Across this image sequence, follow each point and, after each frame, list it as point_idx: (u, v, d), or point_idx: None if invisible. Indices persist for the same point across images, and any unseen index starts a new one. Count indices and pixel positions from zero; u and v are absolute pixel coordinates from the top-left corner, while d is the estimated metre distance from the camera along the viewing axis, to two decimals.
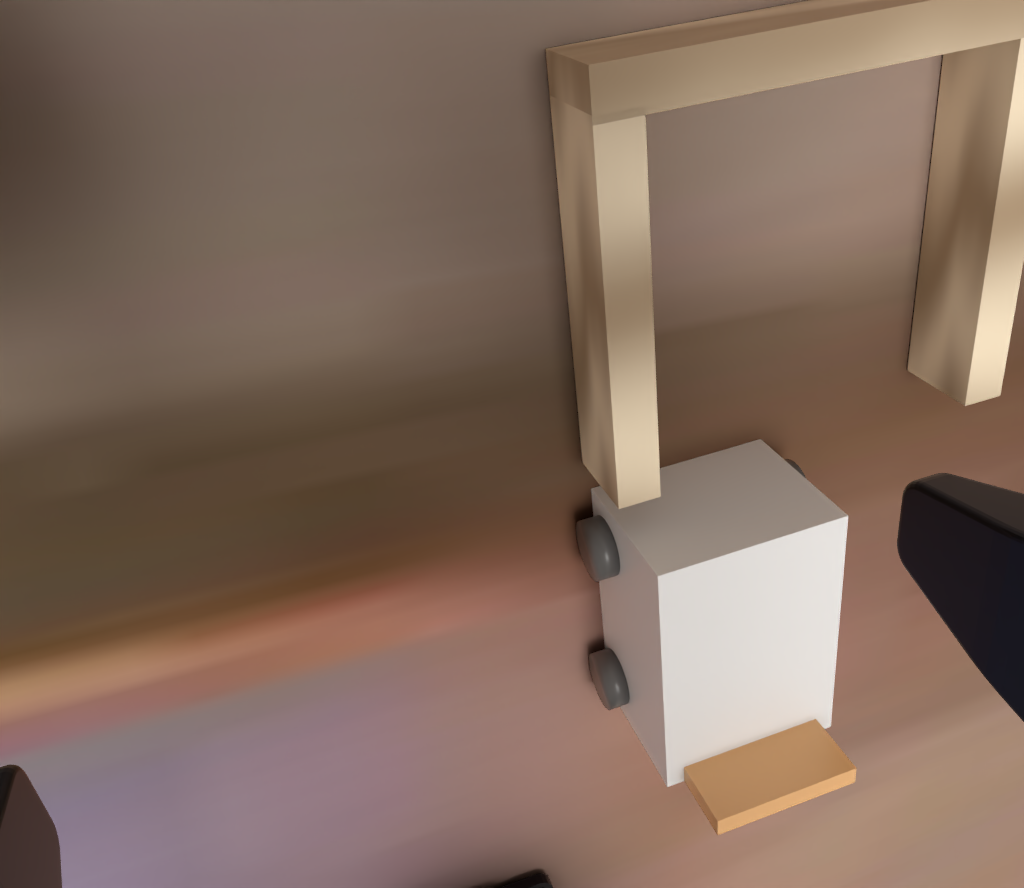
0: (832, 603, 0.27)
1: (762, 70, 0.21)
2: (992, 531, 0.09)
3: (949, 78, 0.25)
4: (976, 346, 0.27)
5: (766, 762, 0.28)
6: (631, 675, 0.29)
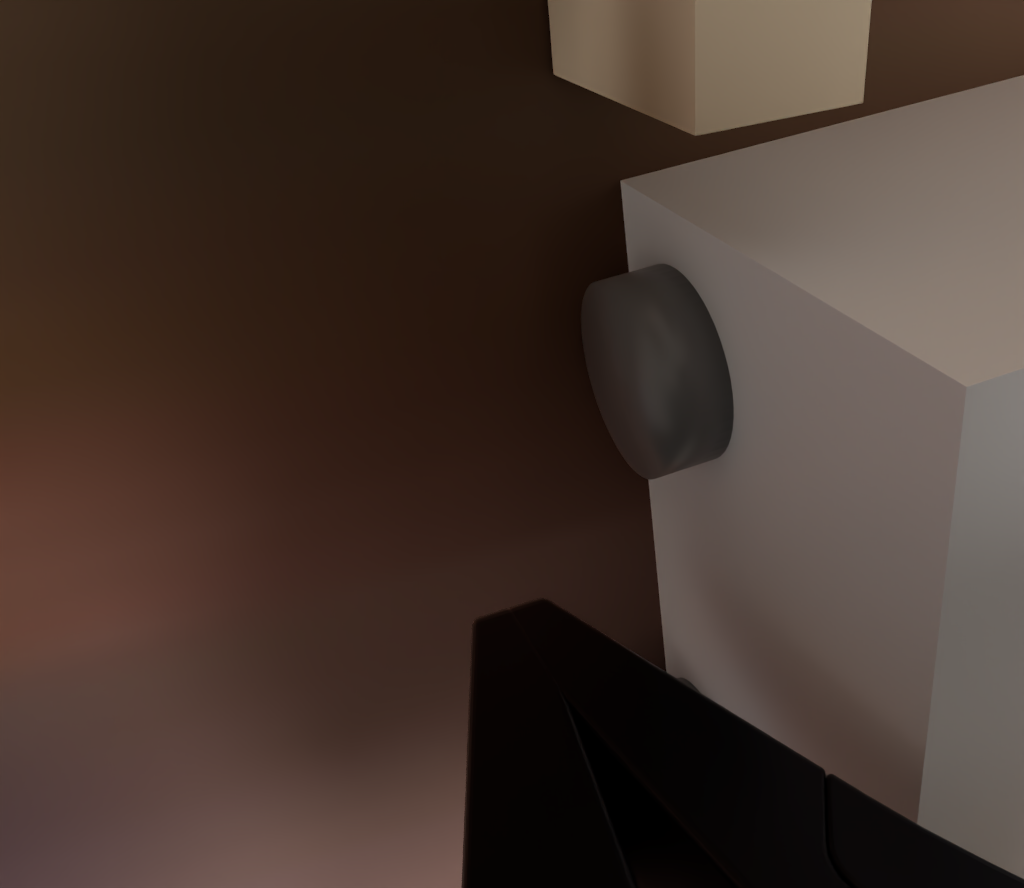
0: None
1: None
2: (545, 680, 0.08)
3: None
4: None
5: None
6: None
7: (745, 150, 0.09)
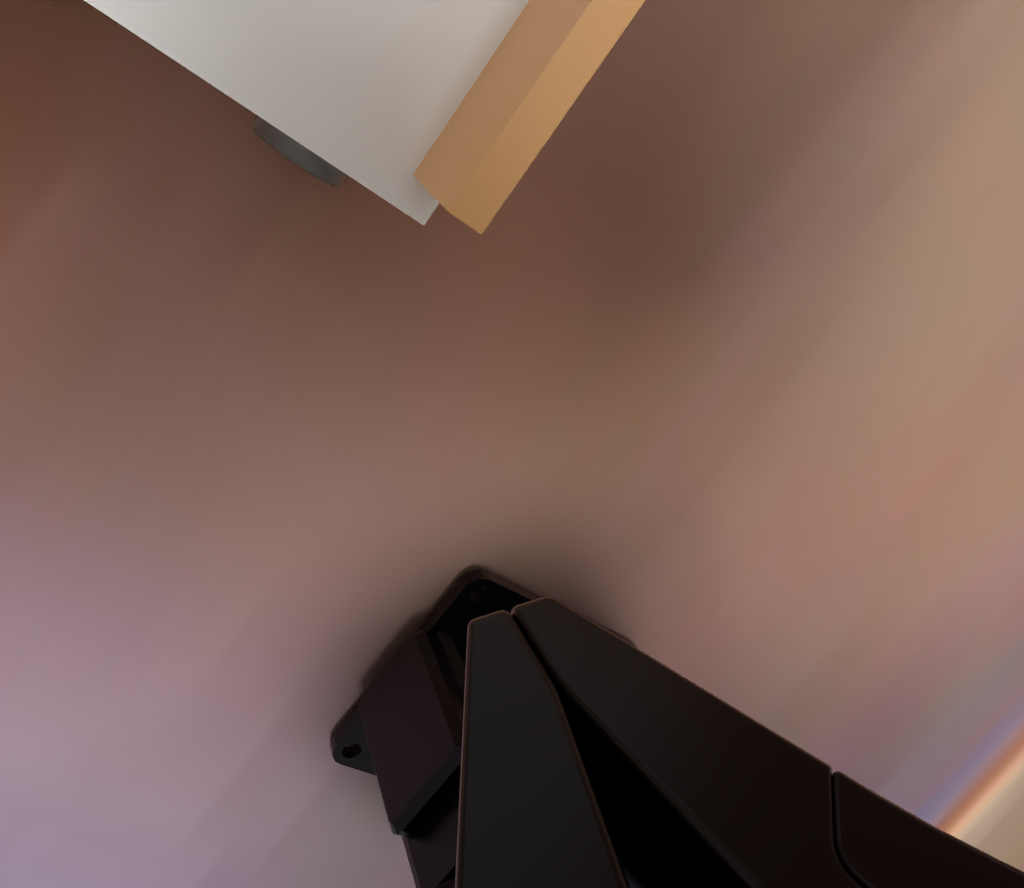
0: None
1: None
2: (551, 678, 0.08)
3: None
4: None
5: (516, 54, 0.13)
6: None
7: None
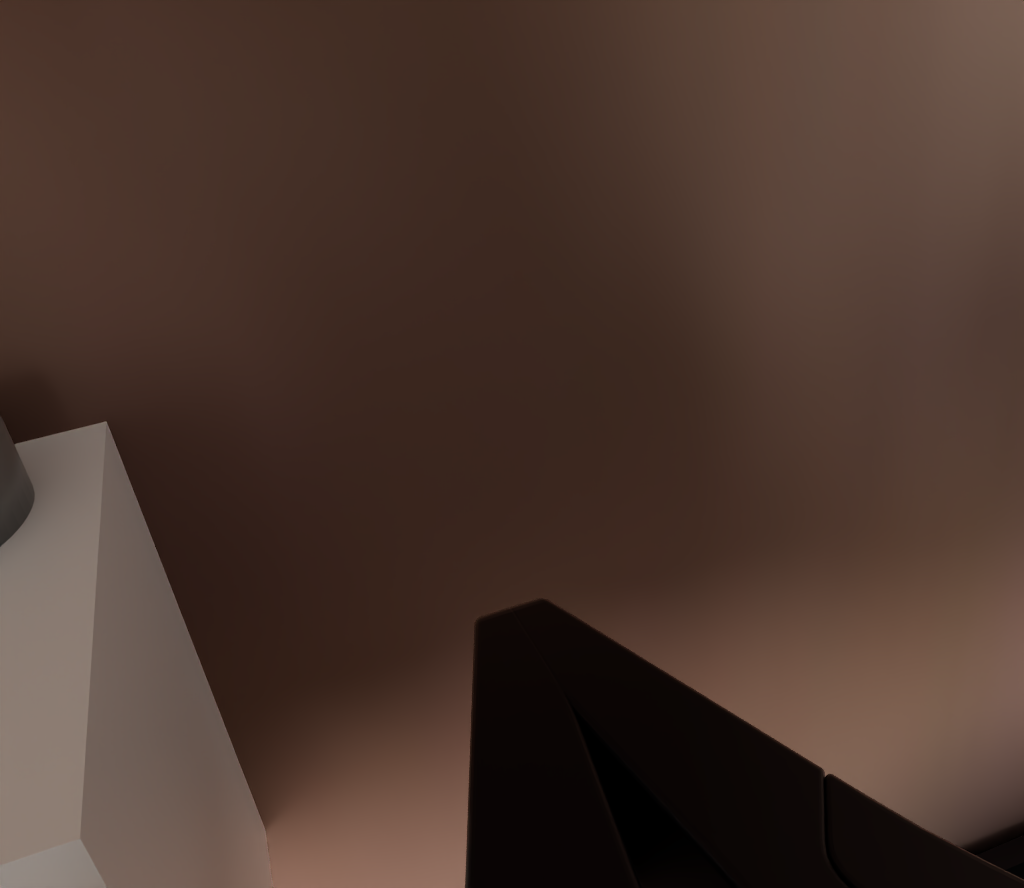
0: None
1: None
2: (544, 680, 0.08)
3: None
4: None
5: None
6: None
7: None
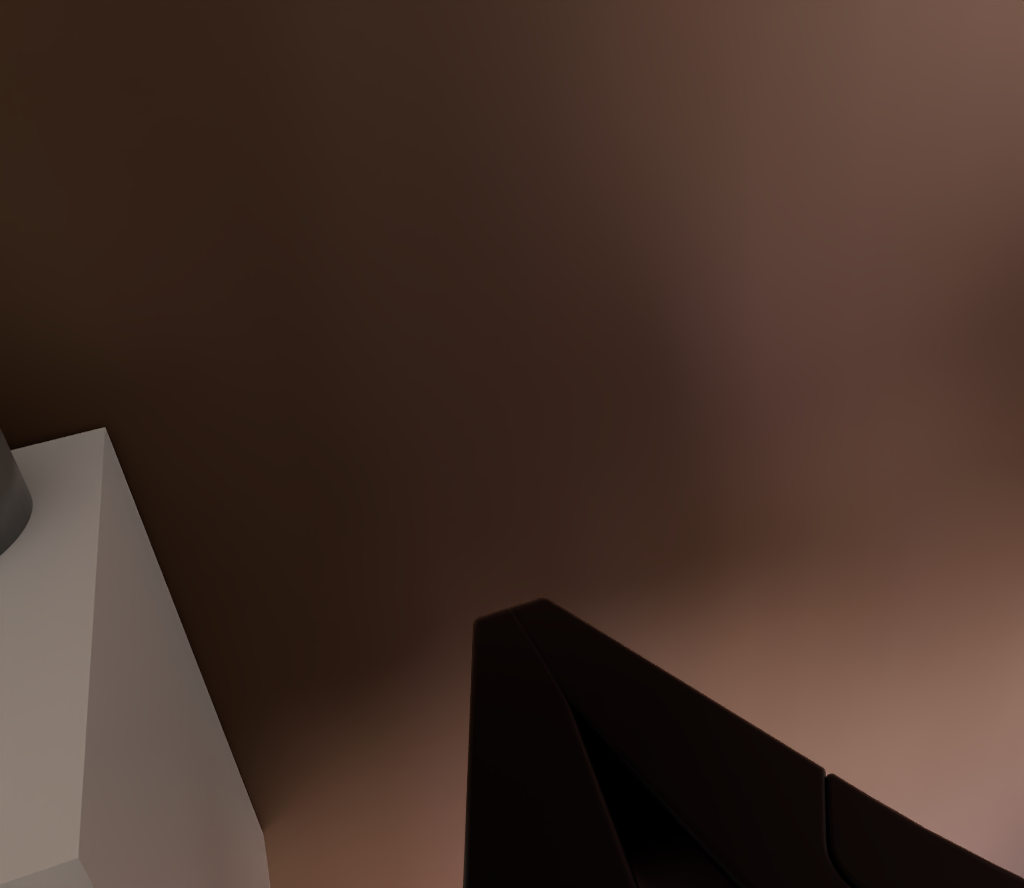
0: None
1: None
2: (546, 680, 0.08)
3: None
4: None
5: None
6: None
7: None
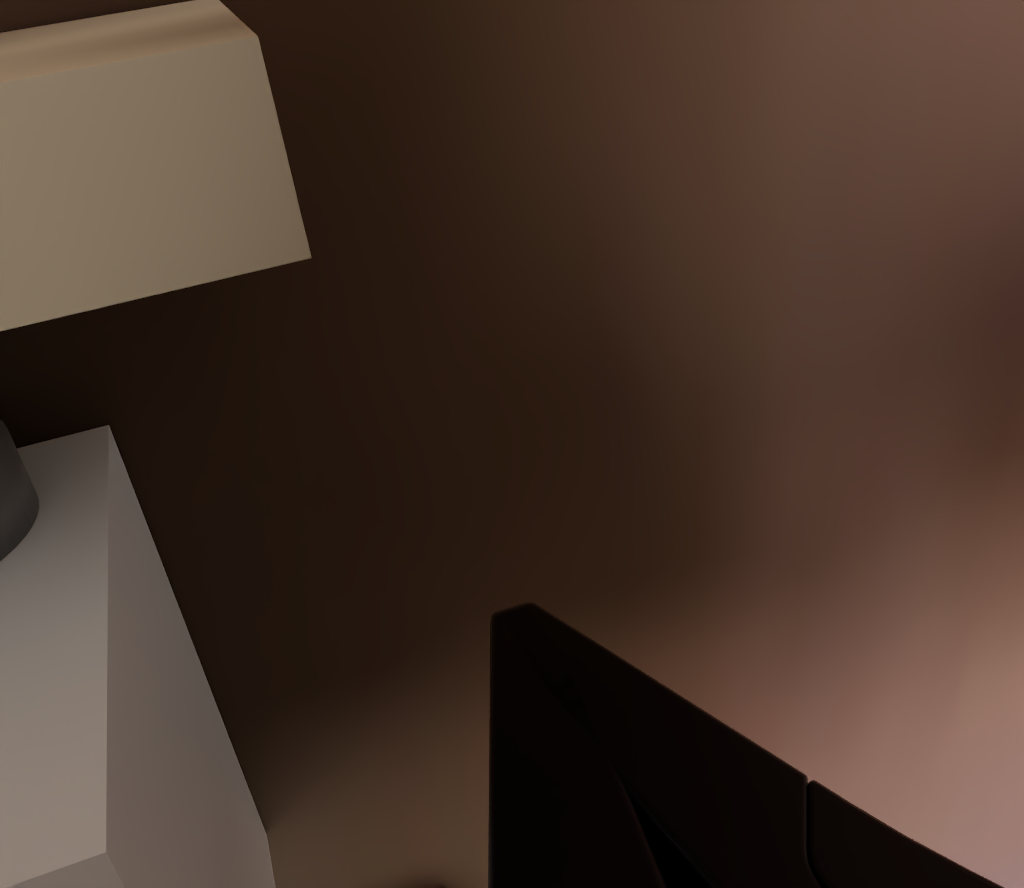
0: None
1: None
2: (530, 685, 0.08)
3: None
4: None
5: None
6: None
7: None
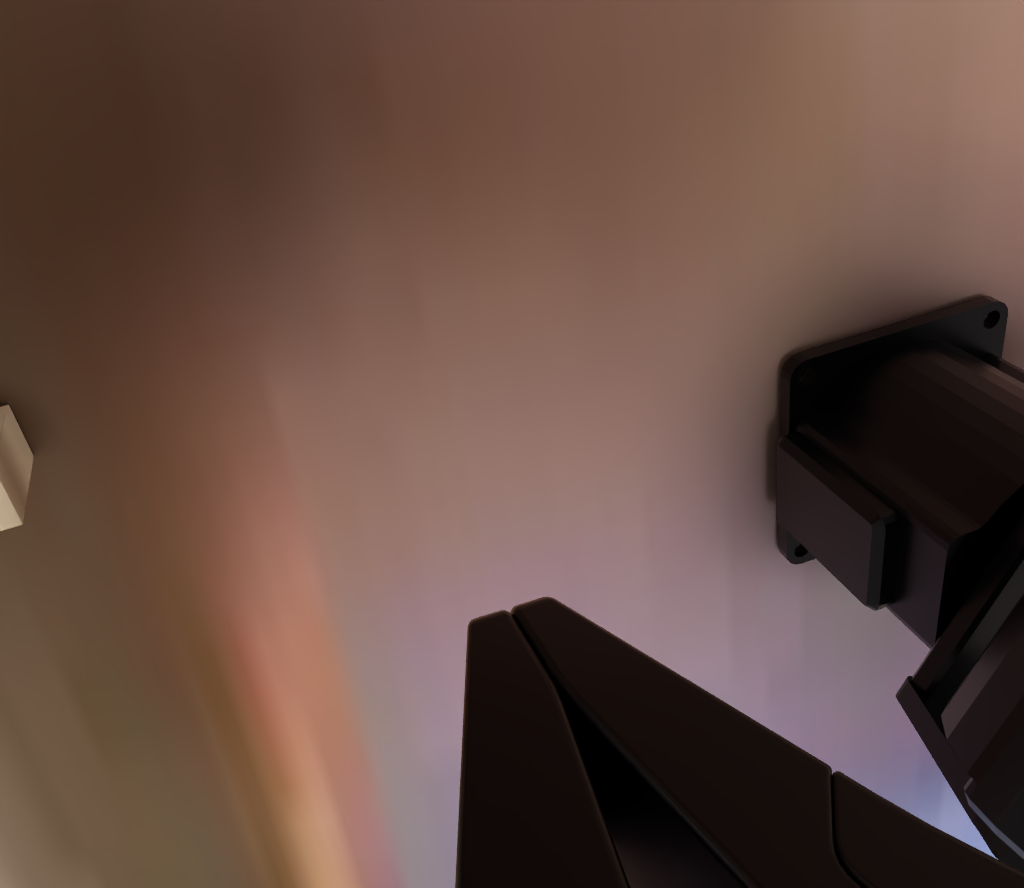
0: None
1: None
2: (550, 678, 0.08)
3: None
4: None
5: None
6: None
7: None
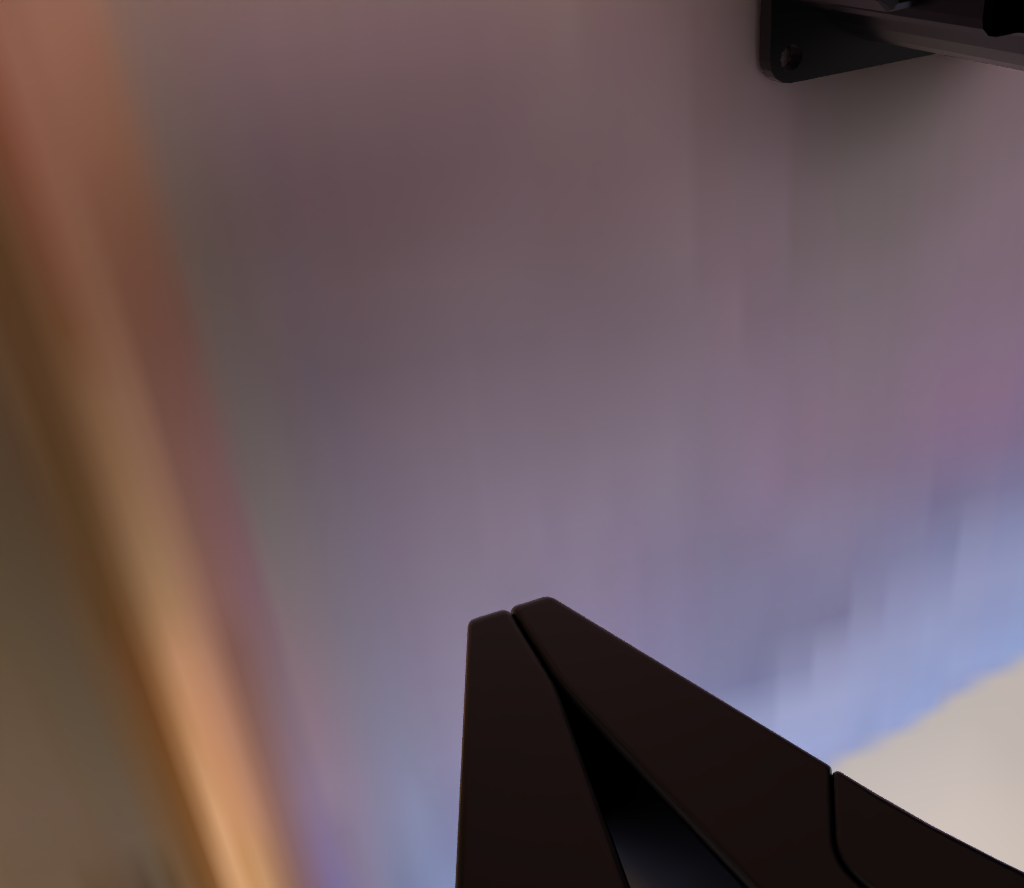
0: None
1: None
2: (550, 678, 0.08)
3: None
4: None
5: None
6: None
7: None
